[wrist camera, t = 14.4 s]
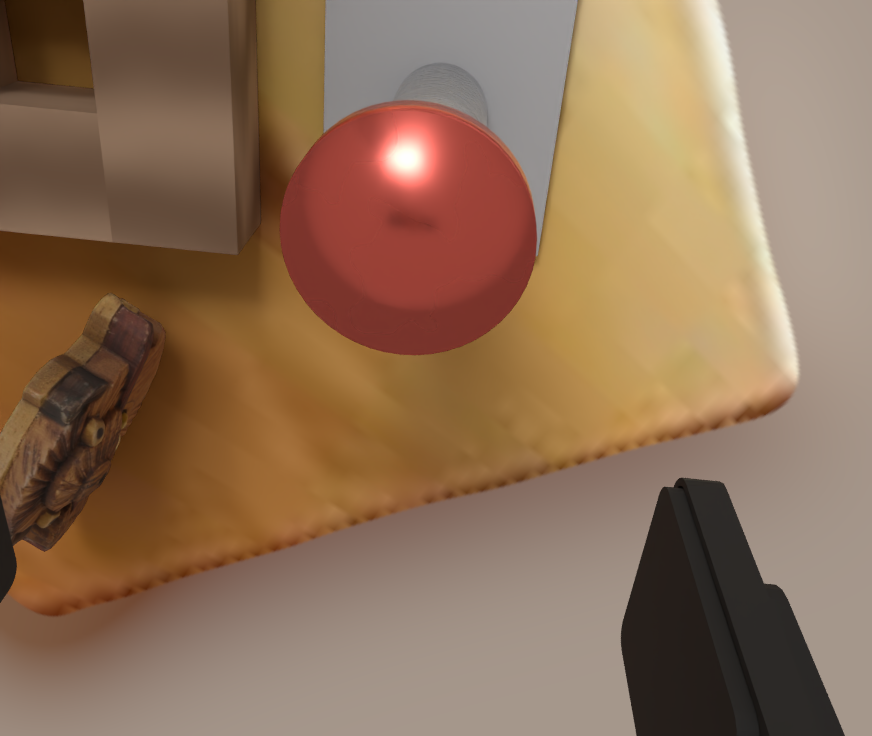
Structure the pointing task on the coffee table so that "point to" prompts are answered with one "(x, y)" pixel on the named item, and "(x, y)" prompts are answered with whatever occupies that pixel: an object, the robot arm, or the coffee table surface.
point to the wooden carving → (75, 421)
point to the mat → (459, 64)
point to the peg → (411, 220)
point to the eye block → (140, 131)
